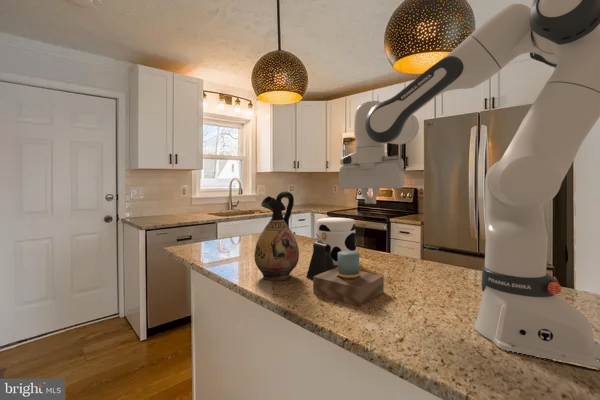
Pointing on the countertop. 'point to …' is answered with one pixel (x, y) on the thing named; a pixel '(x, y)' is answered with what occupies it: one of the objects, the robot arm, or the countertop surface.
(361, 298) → the board
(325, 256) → the phone stand
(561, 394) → the countertop surface
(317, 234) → the milk container
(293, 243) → the ceramic jug
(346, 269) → the leg
